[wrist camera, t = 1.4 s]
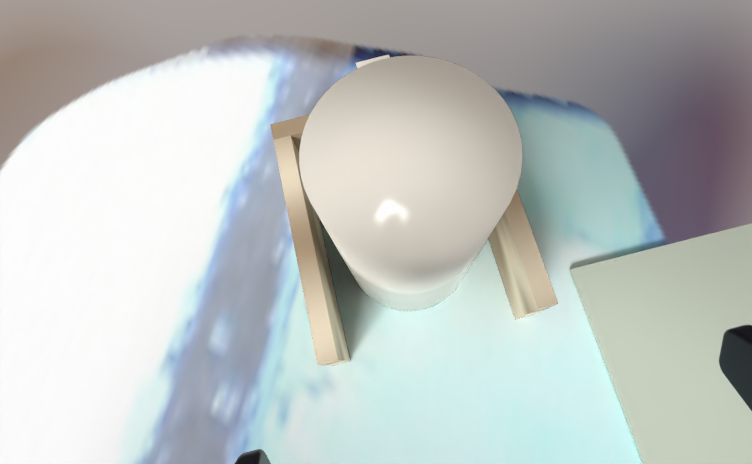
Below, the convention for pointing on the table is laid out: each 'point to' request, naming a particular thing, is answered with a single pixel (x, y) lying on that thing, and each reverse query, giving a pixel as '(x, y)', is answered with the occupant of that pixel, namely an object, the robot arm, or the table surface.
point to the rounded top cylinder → (410, 174)
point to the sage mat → (675, 343)
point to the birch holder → (507, 241)
